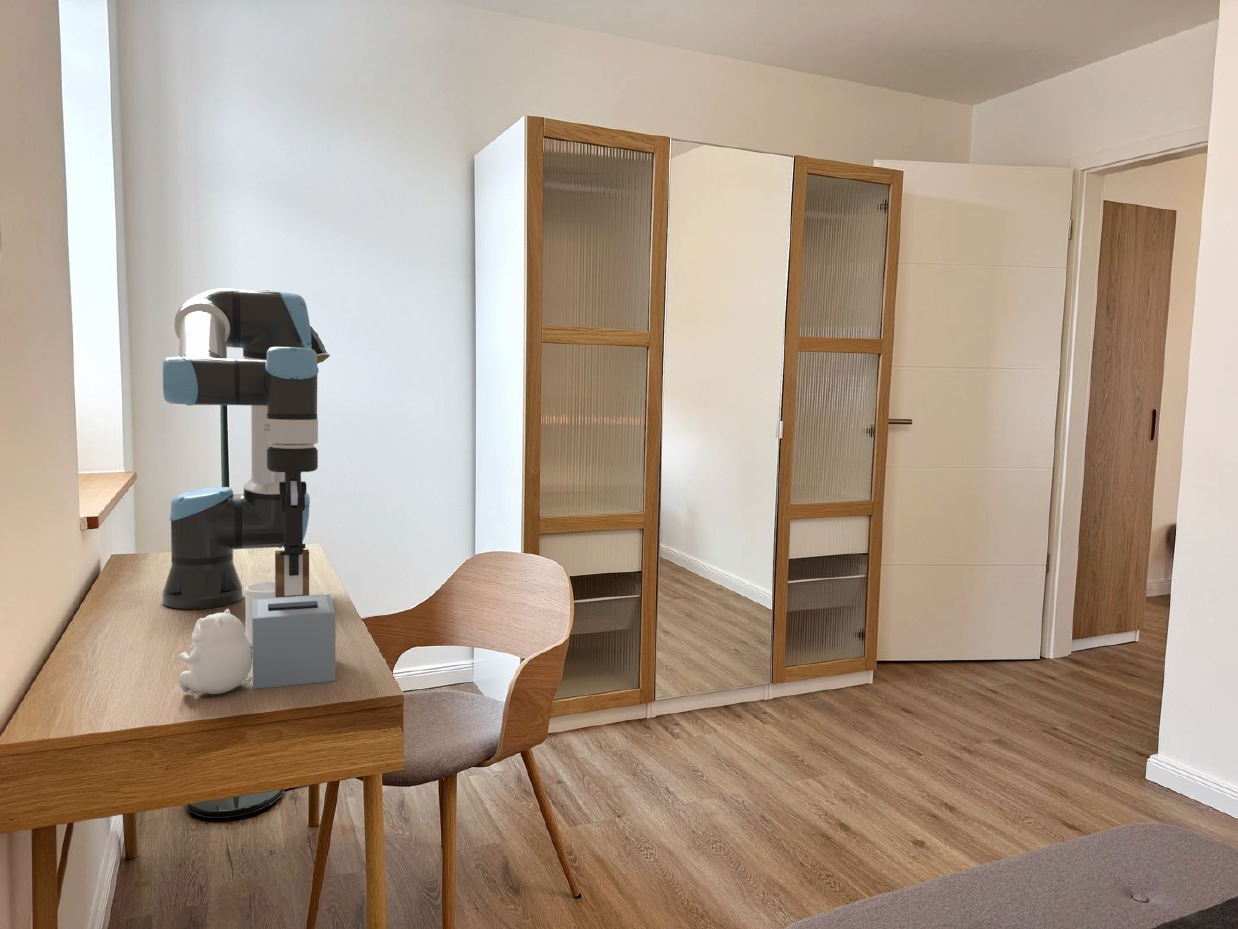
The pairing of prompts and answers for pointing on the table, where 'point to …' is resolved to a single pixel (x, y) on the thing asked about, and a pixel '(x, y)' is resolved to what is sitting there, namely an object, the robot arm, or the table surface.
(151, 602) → the table surface
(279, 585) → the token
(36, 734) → the table surface
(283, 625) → the coin box
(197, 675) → the figurine
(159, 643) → the table surface
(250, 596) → the cup
